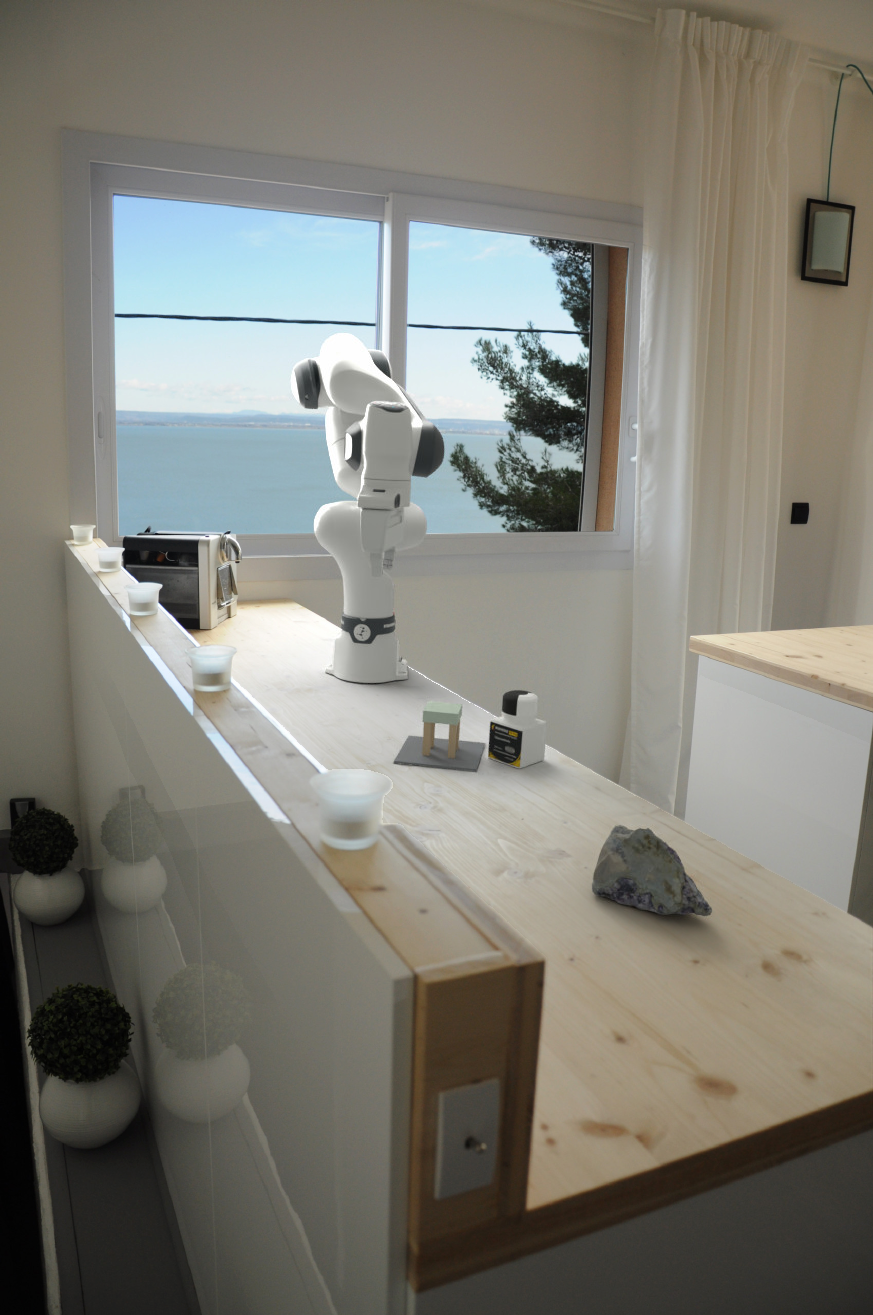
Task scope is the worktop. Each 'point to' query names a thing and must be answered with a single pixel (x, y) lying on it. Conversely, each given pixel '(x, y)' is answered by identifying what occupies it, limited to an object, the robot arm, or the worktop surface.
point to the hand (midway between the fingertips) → (382, 572)
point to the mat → (441, 754)
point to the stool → (441, 715)
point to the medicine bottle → (517, 731)
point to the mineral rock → (646, 874)
